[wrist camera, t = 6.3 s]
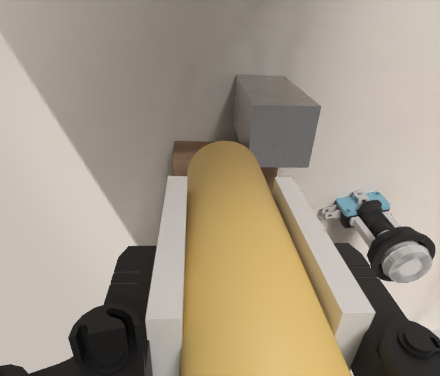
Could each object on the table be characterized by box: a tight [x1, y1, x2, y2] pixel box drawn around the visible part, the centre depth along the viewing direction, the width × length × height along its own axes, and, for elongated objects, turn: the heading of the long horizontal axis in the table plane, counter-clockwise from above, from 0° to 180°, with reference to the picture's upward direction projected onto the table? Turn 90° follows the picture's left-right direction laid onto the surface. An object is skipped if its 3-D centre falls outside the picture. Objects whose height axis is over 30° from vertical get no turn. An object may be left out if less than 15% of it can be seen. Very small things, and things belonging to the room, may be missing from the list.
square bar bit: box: [233, 75, 321, 167], centre depth 24 cm, size 4×4×9 cm
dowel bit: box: [179, 141, 351, 376], centre depth 10 cm, size 4×4×12 cm
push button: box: [322, 190, 435, 283], centre depth 30 cm, size 7×5×10 cm
